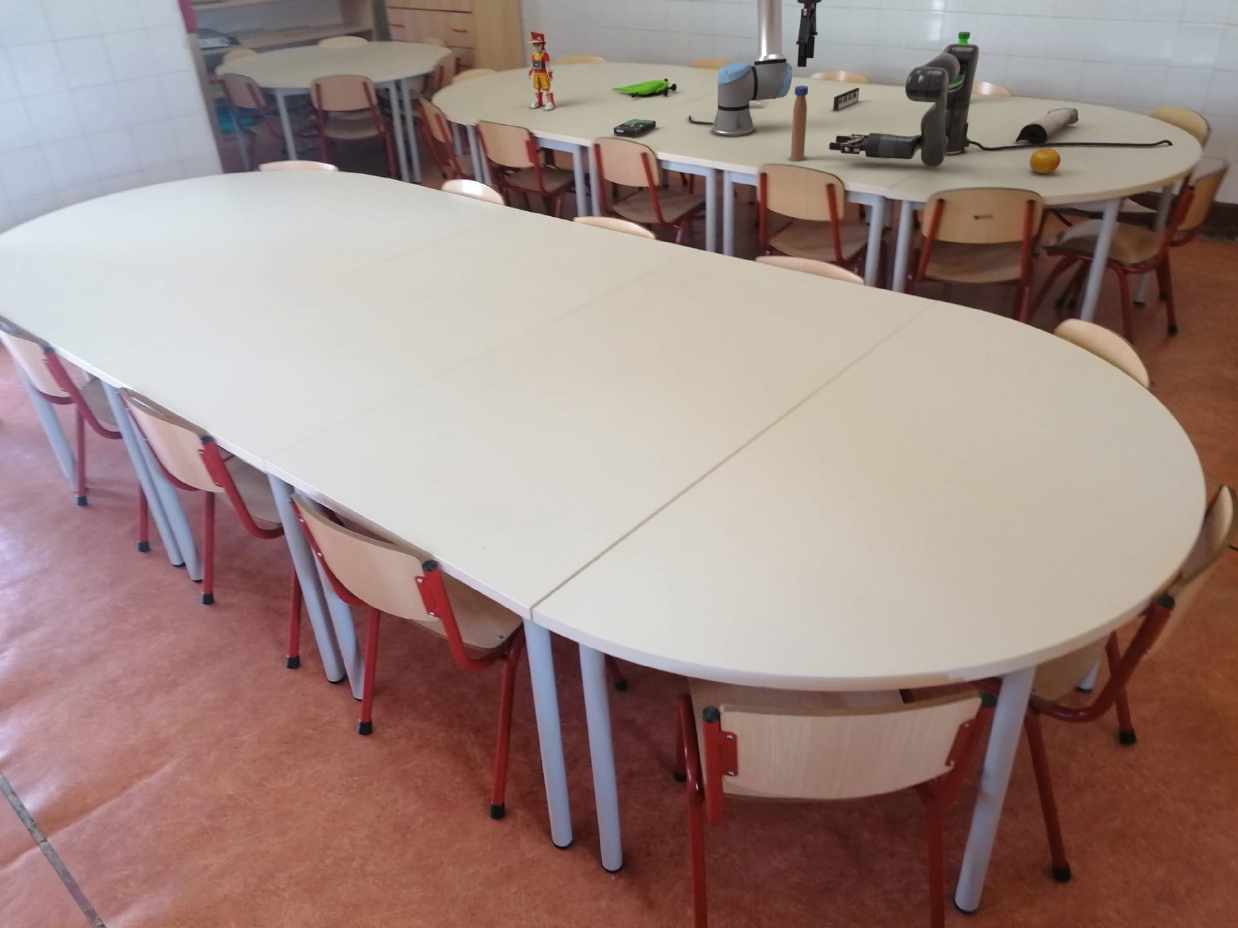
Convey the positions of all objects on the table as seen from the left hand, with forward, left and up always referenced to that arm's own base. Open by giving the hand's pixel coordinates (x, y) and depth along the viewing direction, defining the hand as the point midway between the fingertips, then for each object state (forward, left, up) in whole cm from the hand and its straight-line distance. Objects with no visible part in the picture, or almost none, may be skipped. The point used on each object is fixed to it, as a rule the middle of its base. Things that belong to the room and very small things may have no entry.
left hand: (805, 62), depth 288 cm
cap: (-1, -1, -8) cm, 8 cm away
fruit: (+75, +11, -30) cm, 82 cm away
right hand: (+11, 0, -24) cm, 27 cm away
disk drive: (-71, +10, -30) cm, 77 cm away
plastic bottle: (+29, +91, -30) cm, 100 cm away
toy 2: (-101, +69, -30) cm, 126 cm away
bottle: (-1, -1, -30) cm, 30 cm away
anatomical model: (-48, +62, -30) cm, 84 cm away
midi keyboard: (-9, +72, -30) cm, 79 cm away
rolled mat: (+69, +55, -30) cm, 94 cm away
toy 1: (-128, +31, -30) cm, 135 cm away
